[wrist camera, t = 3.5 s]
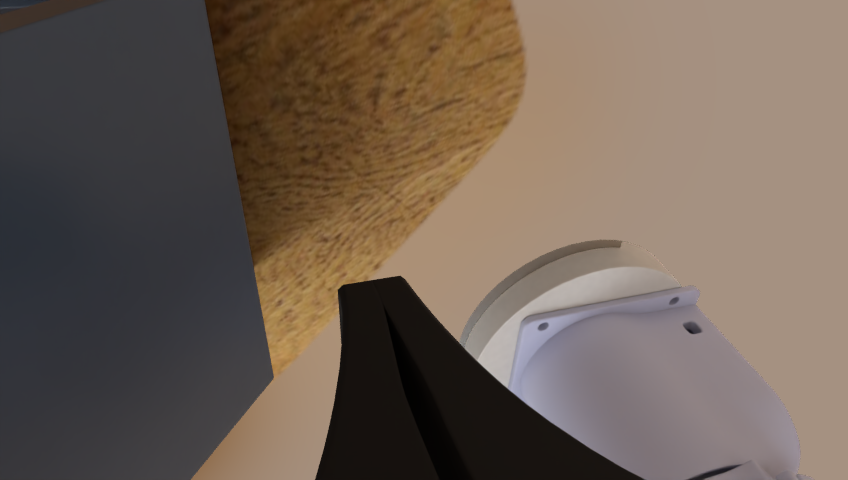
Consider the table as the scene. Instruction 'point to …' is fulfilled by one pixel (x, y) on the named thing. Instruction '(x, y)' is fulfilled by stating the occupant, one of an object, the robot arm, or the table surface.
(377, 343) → the robot arm
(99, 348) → the lid
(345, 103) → the table surface
